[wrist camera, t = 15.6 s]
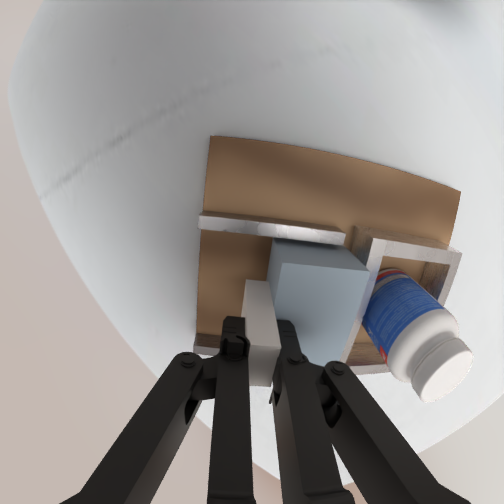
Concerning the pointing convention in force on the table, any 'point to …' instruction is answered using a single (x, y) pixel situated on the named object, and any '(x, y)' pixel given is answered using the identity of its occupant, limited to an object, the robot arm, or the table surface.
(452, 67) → the table surface
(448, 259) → the socket
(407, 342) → the pill bottle
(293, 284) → the block
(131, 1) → the table surface
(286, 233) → the rails
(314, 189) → the board
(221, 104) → the table surface
